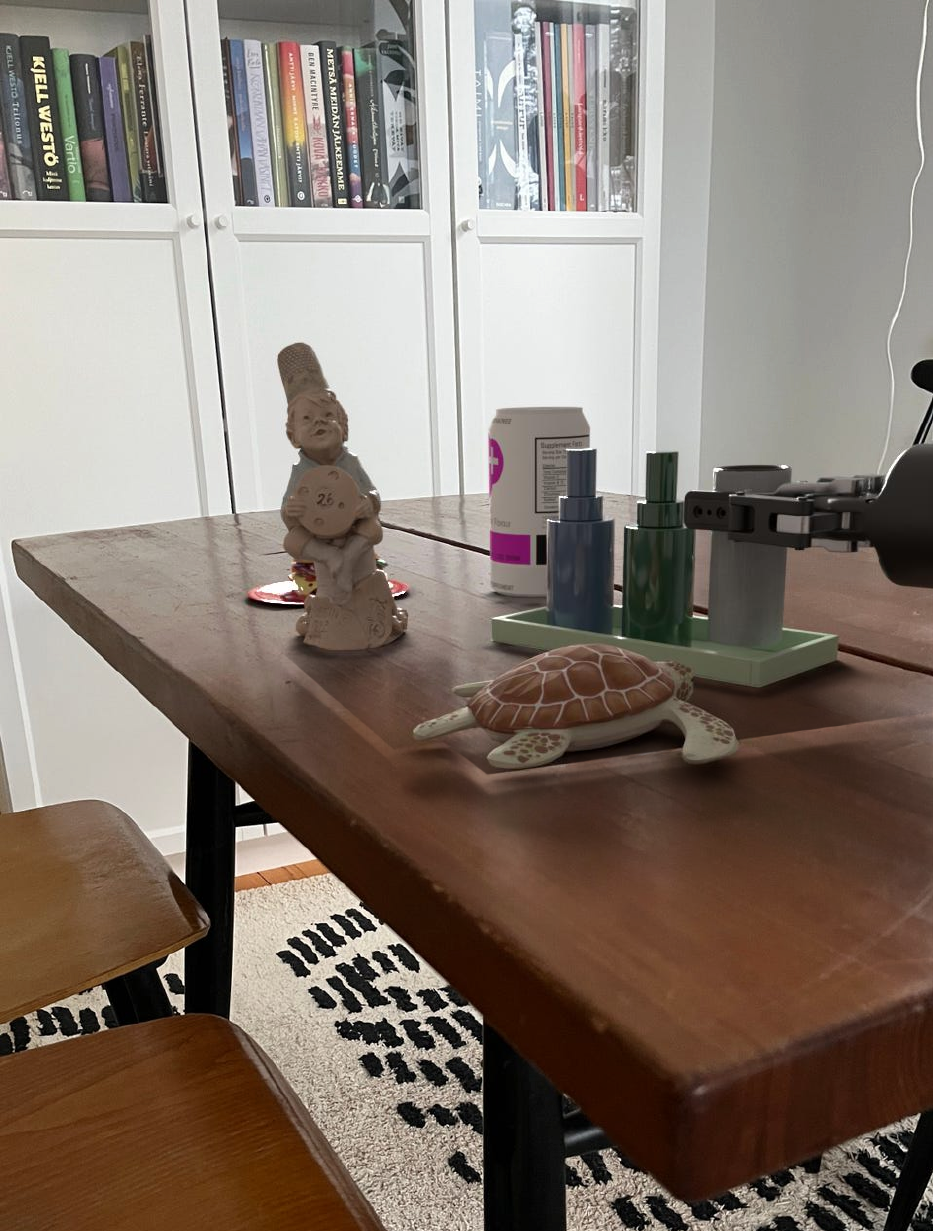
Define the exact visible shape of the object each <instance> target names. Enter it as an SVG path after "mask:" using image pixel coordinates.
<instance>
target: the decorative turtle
mask: <svg viewBox="0 0 933 1231" xmlns="http://www.w3.org/2000/svg"><path fill="white" fill-rule="evenodd" d="M694 680H695V676H694V672H693V670H692V669H691V668H689V667H688V666H685V665H683V664H681V663H678V662H674V661H661V662H655V663H654V662H652V661H651V660H649V659H648V658H646V657H645V656H642V655H640V654H637V653H634V652H631V651H628V650H625V649H622V648H620V647H615V646H610V645H605V644H578V645H572V646H567V647H563V648H558V649H554V650H551V651H549V650H548V651H546V652H543V653H540V654H537V655H535V656H533V657H531V658H529V659H526V660H524V661H522V662H520V663H518V664H516V665H515V666H513V667H511V668H510V669H509V670H507V671H505V672H504V673H503V674H501V675H500V676H498V677H497V678H495V679H492V680H491V679H490V680H484V681H478V682H472V683H466V684H461V685H456V686H454V687H452V689H451V691H452V692H453V694H455V695H456V696H457V697H460V698H463V699H466V698H469V699H468V700H467V702H466V704H465V707H463V708H460V709H456V710H455V711H452V712H449V713H446V714H444V715H442V716H438V717H436V718H433V719H430V720H425V721H423V722H422V723H420V724H418V725H416V727H415V728H414V729H413V730H412V734H413V738H414V740H417V741H421V742H425V741H428V740H432V739H437V738H441V737H445V736H448V735H452V734H454V733H458V732H460V731H465V730H470V729H475V728H477V729H478V728H479V729H482V730H483V731H484V732H486V734H487V736H488V737H489V738H490V740H491V741H492V742H497V743H502V744H501V745H499V746H497V747H495V748H494V749H492V750H491V752H489V753H488V755H487V756H486V759H487V761H488V764H489V765H490V766H493V767H495V768H498V769H499V768H500V769H504V770H521V769H530V768H534V767H540V766H545V765H548V764H551V763H552V762H554V761H555V760H557V759H558V758H560V757H561V756H563V755H564V753H565V752H568V753H569V752H571V753H573V752H574V753H575V752H581V751H582V752H583V751H589V750H590V751H591V750H596V749H601V748H606V747H609V746H614V745H617V744H620V743H623V742H626V741H629V740H631V739H634V738H637V737H640V736H643V735H645V734H648V733H650V732H652V731H653V730H655V729H656V728H658V727H659V726H660V725H662V724H663V723H667V722H670V723H673V724H675V726H677V727H678V728H679V729H680V730H681V732H682V733H683V735H684V738H685V740H684V744H683V746H682V754H681V757H682V760H683V761H684V762H686V763H687V764H691V765H703V764H707V763H711V762H715V761H719V760H722V759H726V758H728V757H730V756H731V755H733V754H734V753H736V752H737V751H738V749H739V745H740V743H739V742H738V739H737V737H736V734H735V730H734V728H733V727H731V726H730V724H729V723H728V722H726V721H724V720H722V719H721V718H719V717H717V716H716V715H713V714H712V713H710V712H708V711H706V710H704V709H702V708H700V707H697V706H696V705H693V704H691V703H688V702H687V701H689V699H690V698H691V697H692V694H693V692H694Z"/></svg>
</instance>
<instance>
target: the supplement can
mask: <svg viewBox="0 0 933 1231" xmlns="http://www.w3.org/2000/svg"><path fill="white" fill-rule="evenodd" d="M583 410H584V408H583V407H582V406H527V407H526V406H525V407H522V406H521V407H502V408H495V414H494V416H493V418H492V421H491V422H490V424H489V427H488V428H487V429H488V430H487V433H488V434H487V436H488V438H487V440H488V441H487V444H488V504H489V505H488V507H489V508H488V513H489V514H488V515H489V516H488V517H489V518H488V519H489V577H490V578H489V579H490V581H489V582H490V584H489V585H490V586H489V587H490V588H491V589H492V590H493V591H494V592H495V593H497V594H498V595H499V594H500V595H504V596H509V597H518V598H547V519H548V518H551V517H557V516H559V496H560V495H565V494H566V450H567V449H570V448H591V426H590V424H589V422H588V420H587V418H586V416H585V413H584V411H583Z"/></svg>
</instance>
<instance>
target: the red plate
mask: <svg viewBox="0 0 933 1231" xmlns="http://www.w3.org/2000/svg"><path fill="white" fill-rule="evenodd" d="M374 553H375V560H376V567H377V570H383V571H384V569H385V568H386V567H388V566H389V564H388V562H386V561H385V560H383V559H380V558H381V556H380V555H379V554H378V552H377V551H376V550H375V549H374ZM289 567H290V569H291V574H289V575H287V578H288V579H289V580H284V581H278V582H277V581H276V582H272V583H267V584H263V585H259V586H257V587H254V588H252V589H250V590H249V591H248V592H247V597H249V598H251V599H253V600H256V601H260V602H265V603H272V604H280V605H281V604H282V605H304V601H305V599H306V597H307V596H308V595H311V596H315V595H316V592H317V587H316V586H317V583H316V578H317V577H316V572H315V566H314V561H313V562H312V561H308V560H303V559H295V558H292V561H291V563H289ZM384 574H385V577H386V580H387V581H388V582H389V584H390V588H391V591H392V594H393V597H395V596H399V595H401V594H404V593H406V592H407V591H408V590H410V586H409V584H407V583H405V582H403V581H399V580H396V579H395V580H394V579H390V578H389V577H388V574H387V572H384Z"/></svg>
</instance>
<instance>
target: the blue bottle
mask: <svg viewBox="0 0 933 1231" xmlns="http://www.w3.org/2000/svg"><path fill="white" fill-rule="evenodd" d="M597 455H598V449H597V448H595V447H590V448H570V449H567V450H566V494H565V495H560V496H559V516H557V517H551V518H548V519H547V597H546V606H547V625H550V626H556V627H562V628H569V629H575V630H581V631H588V632H594V633H600V634H607V635H613V609H614V605H615V604H614V603H615V602H614V601H615V556H616V554H615V553H616V552H615V550H616V518H615V517H613V516H611V515H610V516H609V515H604V508H605V507H604V504H605V502H604V501H605V499H604V498H605V496H604V495H603V494H600V493H597V470H598V469H597V468H598V467H597V466H598V465H597V462H598V461H597V460H598V456H597Z"/></svg>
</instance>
